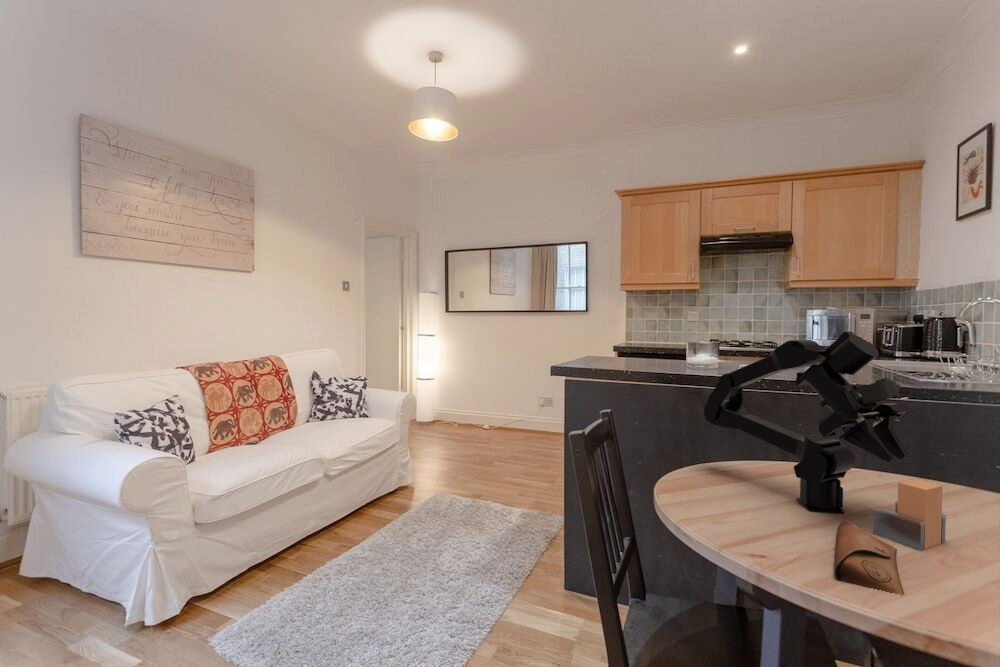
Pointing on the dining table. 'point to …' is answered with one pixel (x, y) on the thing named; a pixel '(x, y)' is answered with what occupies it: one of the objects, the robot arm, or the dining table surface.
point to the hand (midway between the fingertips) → (897, 459)
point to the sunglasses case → (865, 560)
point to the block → (922, 507)
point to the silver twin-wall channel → (902, 528)
